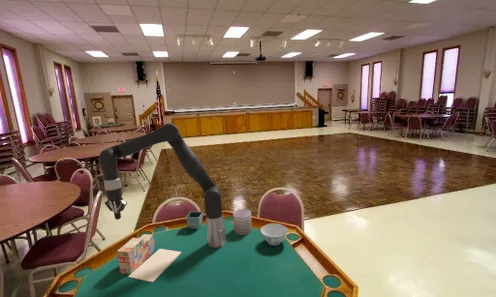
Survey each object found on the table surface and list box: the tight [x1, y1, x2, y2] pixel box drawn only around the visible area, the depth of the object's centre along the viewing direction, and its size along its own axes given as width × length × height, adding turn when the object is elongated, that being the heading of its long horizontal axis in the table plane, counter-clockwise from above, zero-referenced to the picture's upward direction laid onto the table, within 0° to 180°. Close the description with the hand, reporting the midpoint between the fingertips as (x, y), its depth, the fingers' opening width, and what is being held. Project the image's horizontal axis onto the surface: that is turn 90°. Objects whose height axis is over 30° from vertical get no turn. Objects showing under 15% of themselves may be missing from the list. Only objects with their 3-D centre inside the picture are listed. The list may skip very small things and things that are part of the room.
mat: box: [127, 248, 182, 283], centre depth 131 cm, size 14×24×1 cm, turn 162°
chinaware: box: [260, 223, 288, 246], centre depth 145 cm, size 15×15×8 cm
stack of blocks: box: [116, 233, 156, 275], centre depth 133 cm, size 21×6×12 cm, turn 168°
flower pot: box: [185, 211, 204, 230], centre depth 167 cm, size 9×9×9 cm
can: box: [232, 208, 253, 236], centre depth 160 cm, size 11×11×12 cm
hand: (118, 218), depth 133 cm, fingers closed
